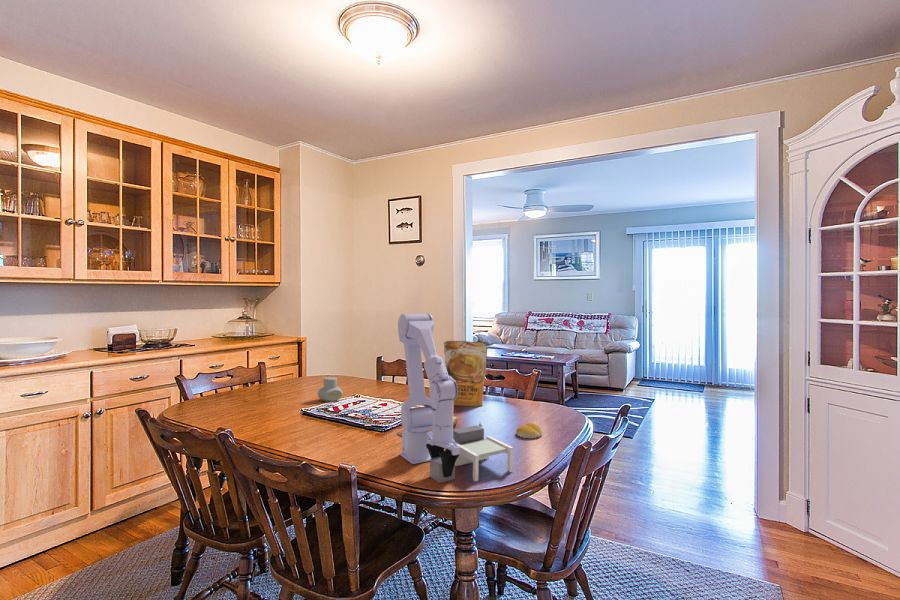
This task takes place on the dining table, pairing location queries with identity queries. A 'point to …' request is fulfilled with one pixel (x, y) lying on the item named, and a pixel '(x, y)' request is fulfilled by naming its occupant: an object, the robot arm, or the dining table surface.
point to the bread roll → (529, 431)
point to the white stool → (470, 457)
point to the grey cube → (439, 471)
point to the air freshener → (330, 390)
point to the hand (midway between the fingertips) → (442, 472)
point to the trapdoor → (476, 441)
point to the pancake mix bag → (467, 370)
